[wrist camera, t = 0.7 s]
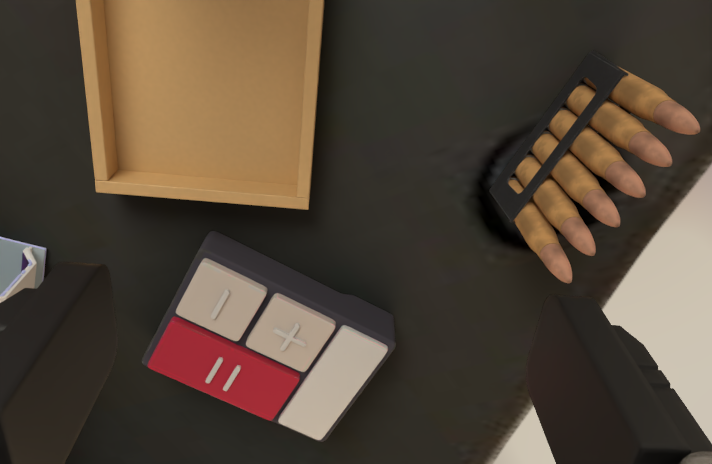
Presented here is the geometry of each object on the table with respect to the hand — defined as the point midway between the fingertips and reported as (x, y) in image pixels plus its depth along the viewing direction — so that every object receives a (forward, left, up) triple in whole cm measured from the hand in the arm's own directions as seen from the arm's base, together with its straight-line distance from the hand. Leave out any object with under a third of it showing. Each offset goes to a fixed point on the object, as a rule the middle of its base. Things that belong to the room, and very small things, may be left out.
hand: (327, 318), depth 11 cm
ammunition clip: (+4, +14, -28) cm, 31 cm away
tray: (0, -7, -27) cm, 28 cm away
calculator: (+21, -3, -28) cm, 35 cm away
